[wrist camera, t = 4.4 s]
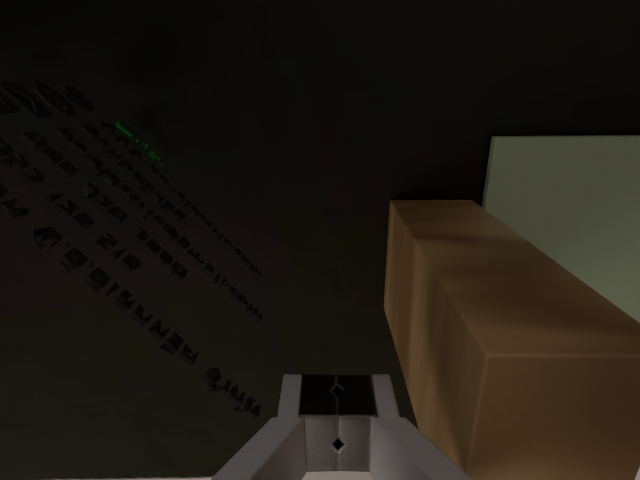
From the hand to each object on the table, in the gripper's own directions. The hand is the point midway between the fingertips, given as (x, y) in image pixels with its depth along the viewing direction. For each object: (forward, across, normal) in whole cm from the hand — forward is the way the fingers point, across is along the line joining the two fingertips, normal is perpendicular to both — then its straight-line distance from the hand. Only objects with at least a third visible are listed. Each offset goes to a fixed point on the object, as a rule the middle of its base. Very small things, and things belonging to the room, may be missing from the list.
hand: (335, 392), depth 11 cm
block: (+10, -5, 0) cm, 11 cm away
